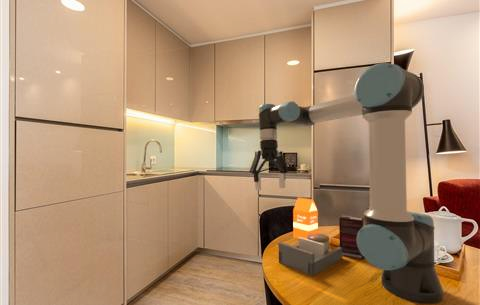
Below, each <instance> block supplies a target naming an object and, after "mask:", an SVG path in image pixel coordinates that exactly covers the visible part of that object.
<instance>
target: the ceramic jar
mask: <svg viewBox="0 0 480 305" xmlns="http://www.w3.org/2000/svg"><path fill="white" fill-rule="evenodd" d="M307 239H309V240H312V241H316V242H319V243H323V244H324V246H325V253H327V252H329V251H330V236H329V235H327V234H323V233H319V232H318V233H312V234H308V235H307Z"/></svg>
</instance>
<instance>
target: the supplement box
mask: <svg viewBox="0 0 480 305" xmlns="http://www.w3.org/2000/svg"><path fill="white" fill-rule="evenodd" d="M338 221H339V222H338V224H339V225H338V227H339V228H338V232H339V247H341V248H342V257H349V258H353V259H359V260H364V258H365V257H364V256H363V255H362V254H361V252H360V251H359V248H358V245H357V234H358V232H359V230H360V229H361V228H362V227H363V226H364V217H357V216H351V215H342V214H341V215H340V216H339V219H338Z"/></svg>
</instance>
